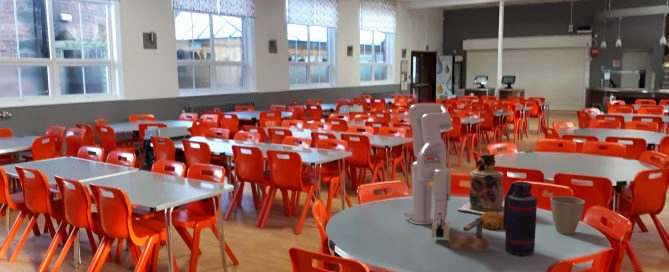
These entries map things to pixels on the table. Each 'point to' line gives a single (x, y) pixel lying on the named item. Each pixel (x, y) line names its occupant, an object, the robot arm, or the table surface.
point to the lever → (473, 224)
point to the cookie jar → (485, 188)
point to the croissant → (492, 220)
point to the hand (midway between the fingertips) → (440, 234)
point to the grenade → (520, 219)
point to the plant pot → (566, 213)
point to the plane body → (470, 241)
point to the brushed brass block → (445, 227)
